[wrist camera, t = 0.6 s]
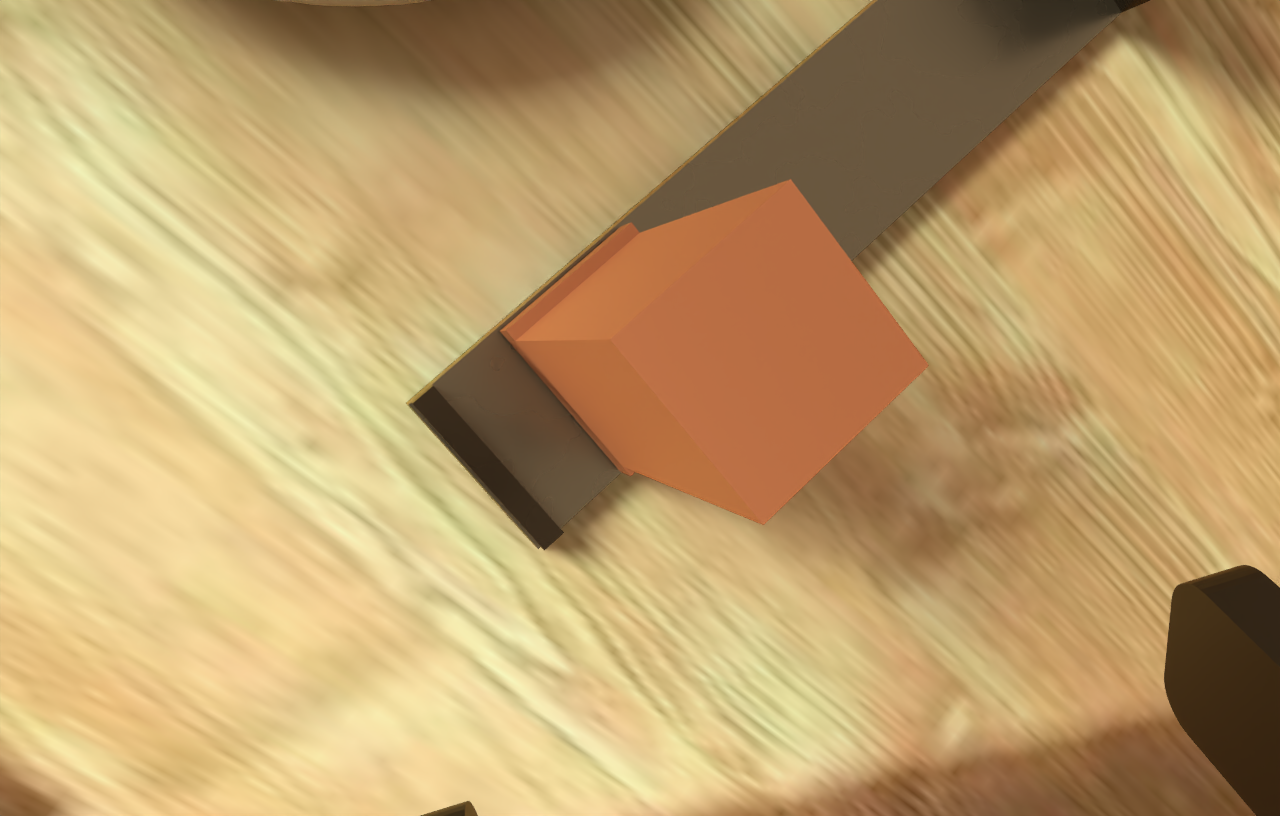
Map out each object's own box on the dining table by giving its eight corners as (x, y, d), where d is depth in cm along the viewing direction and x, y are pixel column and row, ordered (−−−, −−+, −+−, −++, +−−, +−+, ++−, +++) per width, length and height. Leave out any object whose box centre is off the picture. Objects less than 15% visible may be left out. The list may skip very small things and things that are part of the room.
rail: (405, 402, 32) (430, 421, 25) (1068, -169, 38) (1256, -299, 30) (532, 543, 34) (592, 601, 26) (1154, -28, 39) (1354, -118, 32)
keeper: (499, 331, 32) (597, 323, 20) (620, 226, 33) (779, 163, 21) (619, 471, 33) (774, 538, 22) (733, 367, 34) (939, 379, 23)
